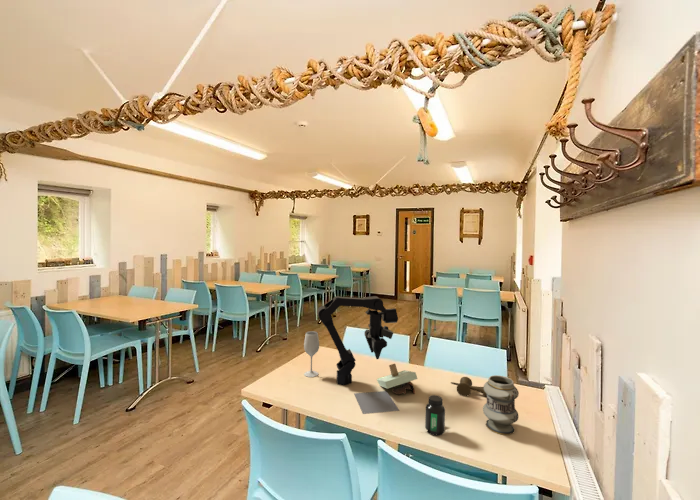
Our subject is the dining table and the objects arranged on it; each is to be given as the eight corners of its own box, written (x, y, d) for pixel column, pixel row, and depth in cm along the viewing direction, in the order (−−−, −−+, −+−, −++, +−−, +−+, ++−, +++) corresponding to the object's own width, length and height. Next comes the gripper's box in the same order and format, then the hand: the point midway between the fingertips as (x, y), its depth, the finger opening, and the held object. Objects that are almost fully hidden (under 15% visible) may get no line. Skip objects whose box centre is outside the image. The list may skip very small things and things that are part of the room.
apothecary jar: (482, 415, 131) (484, 370, 130) (516, 422, 126) (518, 376, 125) (482, 432, 119) (483, 383, 119) (519, 440, 115) (521, 389, 114)
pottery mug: (418, 400, 143) (410, 385, 141) (398, 407, 145) (390, 393, 142) (414, 381, 154) (407, 368, 152) (395, 388, 156) (388, 375, 154)
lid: (387, 388, 140) (381, 369, 142) (378, 385, 156) (373, 368, 158) (417, 378, 143) (411, 360, 145) (406, 376, 159) (401, 359, 161)
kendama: (496, 405, 140) (448, 393, 149) (497, 396, 149) (451, 385, 158) (497, 391, 140) (449, 379, 149) (498, 382, 149) (452, 372, 158)
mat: (362, 416, 128) (362, 413, 128) (353, 395, 145) (353, 393, 145) (399, 413, 131) (399, 410, 131) (386, 393, 148) (386, 390, 148)
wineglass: (321, 373, 168) (322, 332, 167) (312, 378, 161) (312, 336, 161) (310, 370, 172) (310, 330, 171) (300, 375, 165) (301, 333, 165)
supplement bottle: (436, 438, 115) (437, 404, 114) (421, 429, 120) (421, 396, 120) (448, 431, 119) (449, 399, 118) (433, 423, 125) (434, 391, 124)
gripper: (398, 328, 150) (397, 361, 151) (385, 318, 168) (385, 348, 169) (374, 329, 148) (373, 363, 148) (364, 318, 166) (363, 349, 167)
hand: (374, 355), depth 158 cm, fingers open, 9 cm apart
